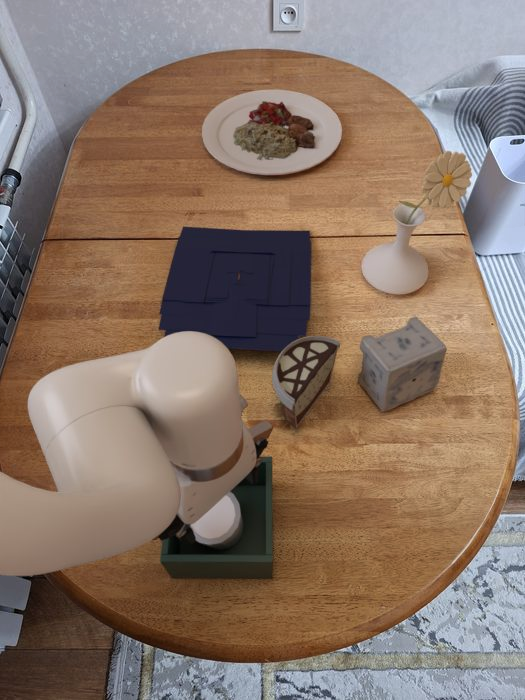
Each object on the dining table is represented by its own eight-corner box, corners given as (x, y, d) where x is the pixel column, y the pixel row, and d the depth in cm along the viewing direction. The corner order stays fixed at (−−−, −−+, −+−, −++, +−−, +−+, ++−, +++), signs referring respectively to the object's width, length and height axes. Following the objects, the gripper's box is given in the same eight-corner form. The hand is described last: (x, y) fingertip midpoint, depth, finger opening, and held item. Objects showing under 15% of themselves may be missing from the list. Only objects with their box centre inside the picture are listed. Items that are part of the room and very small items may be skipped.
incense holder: (405, 351, 87) (419, 310, 78) (436, 392, 83) (455, 353, 74) (351, 374, 85) (360, 334, 76) (380, 417, 80) (393, 380, 72)
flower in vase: (363, 300, 93) (389, 179, 72) (357, 251, 99) (379, 127, 79) (441, 299, 93) (489, 178, 72) (429, 250, 99) (470, 126, 79)
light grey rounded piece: (224, 489, 73) (215, 474, 67) (259, 527, 70) (252, 514, 64) (185, 526, 72) (171, 513, 66) (218, 567, 69) (208, 557, 63)
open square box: (272, 578, 68) (272, 562, 61) (171, 578, 68) (159, 561, 61) (272, 481, 75) (272, 456, 68) (180, 481, 75) (171, 456, 68)
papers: (152, 357, 85) (148, 341, 83) (183, 238, 105) (180, 222, 102) (309, 364, 84) (310, 348, 82) (310, 242, 104) (311, 226, 101)
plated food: (243, 199, 108) (242, 185, 105) (179, 122, 123) (177, 108, 120) (369, 151, 116) (371, 137, 113) (295, 83, 131) (295, 69, 128)
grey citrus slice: (301, 357, 87) (304, 318, 78) (334, 376, 85) (341, 338, 76) (255, 414, 81) (253, 379, 73) (290, 436, 79) (292, 402, 71)
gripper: (243, 357, 54) (248, 433, 69) (97, 475, 48) (137, 532, 62) (298, 404, 51) (292, 474, 65) (151, 537, 45) (180, 583, 59)
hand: (216, 502), depth 64 cm, fingers open, 9 cm apart
